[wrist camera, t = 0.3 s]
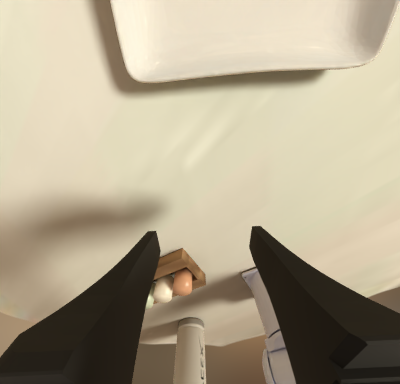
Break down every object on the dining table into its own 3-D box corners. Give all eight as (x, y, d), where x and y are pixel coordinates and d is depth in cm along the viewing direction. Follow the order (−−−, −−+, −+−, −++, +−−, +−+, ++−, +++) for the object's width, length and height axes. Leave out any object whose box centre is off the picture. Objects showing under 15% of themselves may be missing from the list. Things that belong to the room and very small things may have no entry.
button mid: (177, 281, 27) (175, 299, 24) (163, 286, 27) (160, 304, 25) (167, 272, 26) (164, 289, 23) (153, 277, 26) (149, 295, 24)
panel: (205, 274, 28) (205, 284, 26) (153, 293, 30) (151, 304, 29) (182, 248, 25) (181, 258, 23) (127, 272, 27) (122, 283, 25)
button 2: (195, 274, 26) (195, 292, 23) (181, 279, 27) (179, 297, 24) (186, 264, 25) (185, 282, 22) (171, 270, 25) (168, 288, 23)
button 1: (160, 287, 28) (156, 306, 25) (147, 292, 28) (142, 311, 25) (150, 279, 26) (145, 297, 24) (137, 284, 27) (130, 302, 24)
